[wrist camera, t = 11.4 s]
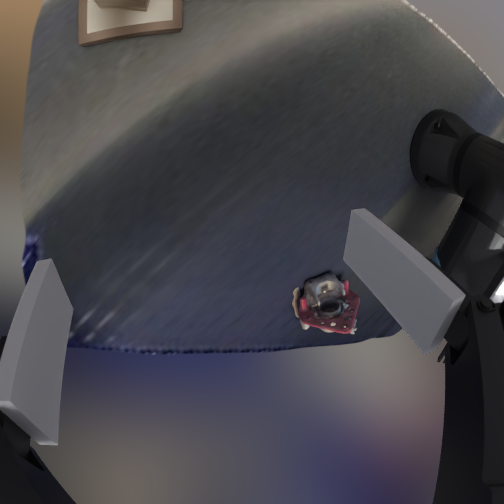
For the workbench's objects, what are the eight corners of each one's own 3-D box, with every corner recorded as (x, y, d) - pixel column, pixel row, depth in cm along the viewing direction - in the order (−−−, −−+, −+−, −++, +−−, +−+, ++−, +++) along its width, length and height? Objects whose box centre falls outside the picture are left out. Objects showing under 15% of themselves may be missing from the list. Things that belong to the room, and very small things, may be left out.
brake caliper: (352, 259, 50) (379, 324, 47) (334, 274, 61) (356, 329, 57) (291, 282, 49) (318, 352, 45) (282, 294, 59) (305, 352, 56)
